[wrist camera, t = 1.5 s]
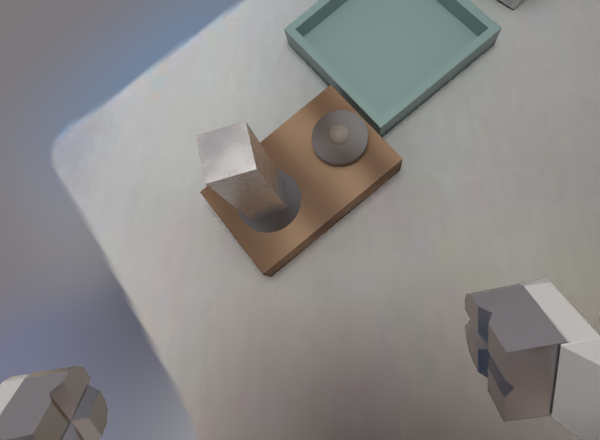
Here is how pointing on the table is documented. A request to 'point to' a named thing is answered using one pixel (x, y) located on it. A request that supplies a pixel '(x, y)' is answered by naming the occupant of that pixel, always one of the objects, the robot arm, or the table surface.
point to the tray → (390, 50)
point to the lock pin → (242, 172)
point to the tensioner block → (312, 179)
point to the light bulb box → (511, 3)
